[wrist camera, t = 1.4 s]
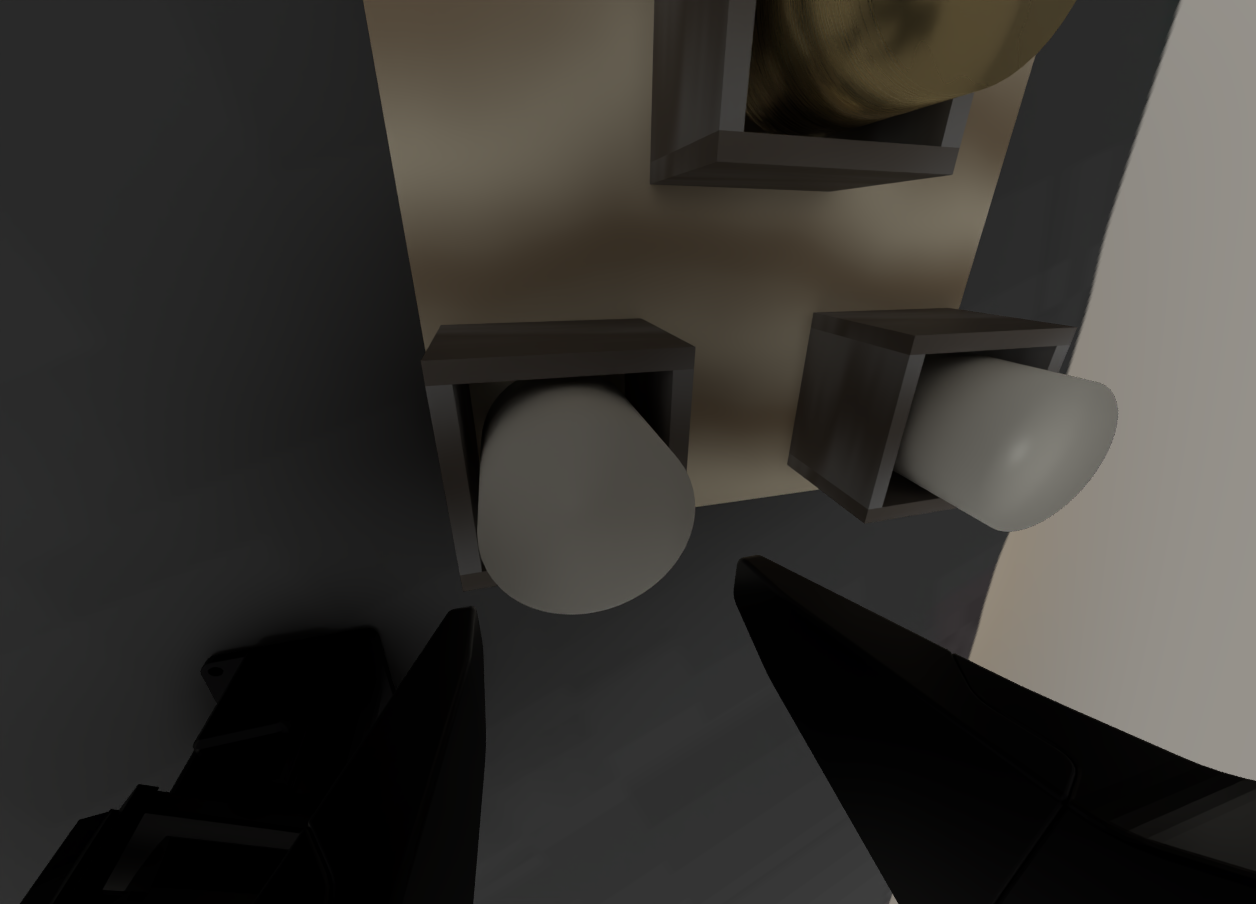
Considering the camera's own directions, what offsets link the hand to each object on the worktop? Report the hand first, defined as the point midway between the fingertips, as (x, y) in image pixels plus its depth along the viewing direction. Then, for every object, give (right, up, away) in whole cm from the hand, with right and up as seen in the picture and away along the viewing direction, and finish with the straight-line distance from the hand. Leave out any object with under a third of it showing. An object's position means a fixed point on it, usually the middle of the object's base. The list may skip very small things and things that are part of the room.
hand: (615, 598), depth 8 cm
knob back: (+12, +4, +10) cm, 16 cm away
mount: (+4, +10, +10) cm, 14 cm away
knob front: (-2, +3, +6) cm, 7 cm away
